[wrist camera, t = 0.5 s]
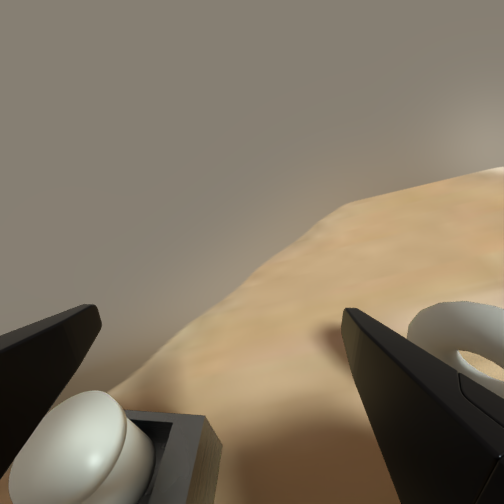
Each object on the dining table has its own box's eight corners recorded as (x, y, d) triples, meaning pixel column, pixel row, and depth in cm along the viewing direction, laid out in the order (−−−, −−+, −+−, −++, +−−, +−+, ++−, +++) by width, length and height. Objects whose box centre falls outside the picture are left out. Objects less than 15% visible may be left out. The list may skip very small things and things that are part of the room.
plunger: (138, 534, 12) (78, 519, 9) (63, 522, 13) (-20, 505, 10) (170, 430, 16) (135, 392, 12) (109, 425, 16) (60, 388, 13)
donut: (386, 365, 23) (417, 290, 17) (406, 343, 24) (441, 267, 18) (534, 479, 16) (677, 423, 10) (549, 439, 17) (682, 369, 11)
